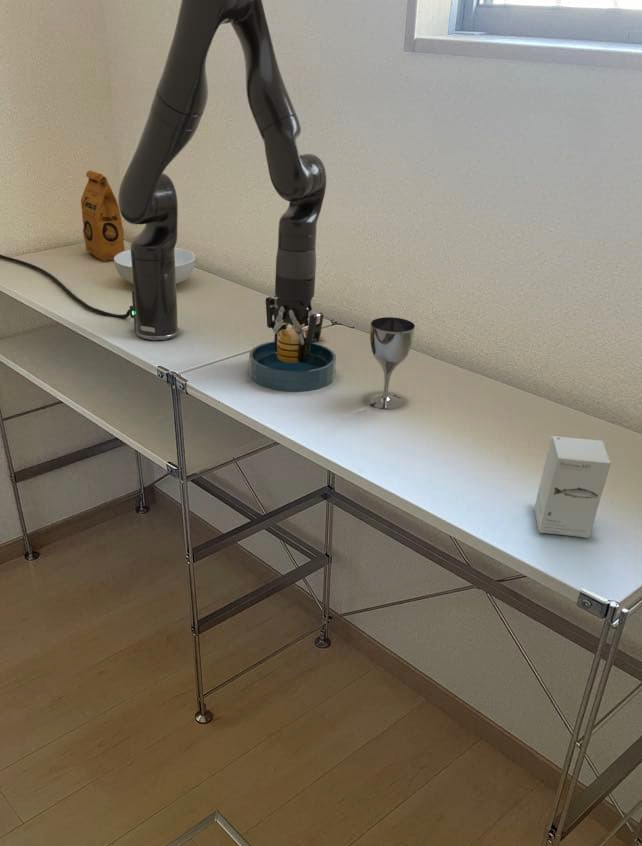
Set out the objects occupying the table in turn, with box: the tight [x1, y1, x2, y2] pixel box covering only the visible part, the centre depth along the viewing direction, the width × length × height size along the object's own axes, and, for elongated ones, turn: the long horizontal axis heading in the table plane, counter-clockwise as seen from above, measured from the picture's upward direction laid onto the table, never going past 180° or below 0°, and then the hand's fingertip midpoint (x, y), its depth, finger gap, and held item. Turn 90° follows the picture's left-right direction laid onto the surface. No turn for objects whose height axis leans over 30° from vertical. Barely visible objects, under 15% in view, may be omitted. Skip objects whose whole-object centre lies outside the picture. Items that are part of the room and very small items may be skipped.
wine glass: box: [369, 316, 416, 410], centre depth 154 cm, size 8×8×15 cm
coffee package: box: [80, 170, 125, 262], centre depth 231 cm, size 10×12×22 cm
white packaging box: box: [533, 435, 612, 539], centre depth 119 cm, size 7×7×13 cm
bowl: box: [248, 340, 337, 393], centre depth 165 cm, size 17×17×4 cm
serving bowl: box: [113, 247, 196, 285], centre depth 215 cm, size 21×21×7 cm
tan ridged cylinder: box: [277, 328, 306, 363], centre depth 164 cm, size 6×6×5 cm
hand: (291, 355), depth 165 cm, fingers closed on tan ridged cylinder, 6 cm apart
